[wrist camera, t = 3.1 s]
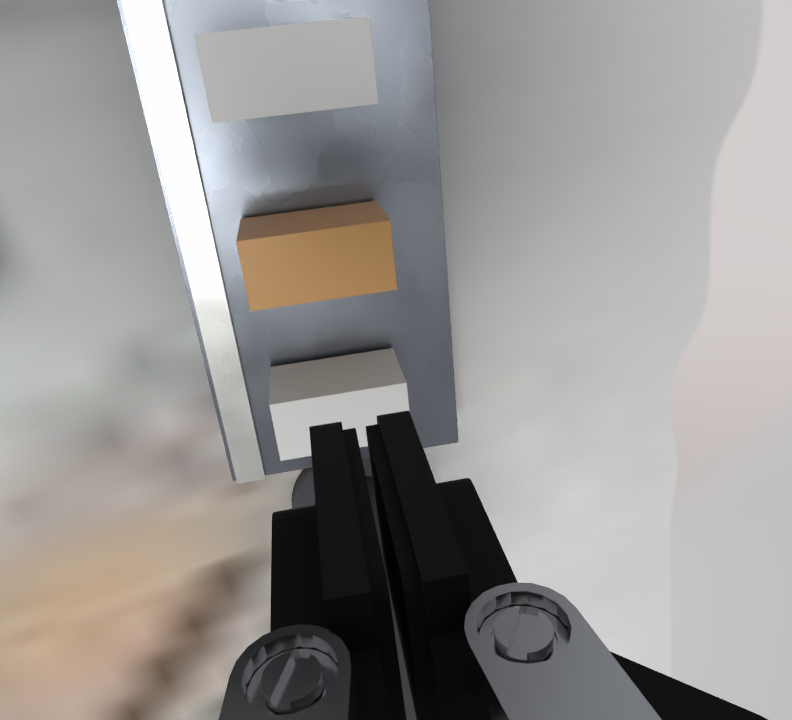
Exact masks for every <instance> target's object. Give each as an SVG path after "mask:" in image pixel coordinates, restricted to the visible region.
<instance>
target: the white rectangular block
mask: <svg viewBox="0 0 792 720" xmlns="http://www.w3.org/2000/svg"><path fill="white" fill-rule="evenodd" d="M269 406H270V411H271V416H272V421H273V426H274V431H275V436H276V441H277V446H278V451H279V456H280V461H284V460H290V459H295V458H301V457H307V456H312V455H311V443H310V431H309V427H311V426H317V425H323V424H329V423H335V422H342V428H343V430H345V429H351V428H356V432H357V437H358V442H359V447H366V446H368V442H367V435H366V426H369V425H375V424H377V416H378V415H384V414H390V413H396V412H402V411H409V401H408V391H407V382H406V380H405V377H404V375H403V372H402V370H401V367H400V365H399V362H398V359H397V357H396V354H395V352H394V349H393V348H389V349H383V350H377V351H370V352H364V353H357V354H351V355H344V356H338V357H332V358H325V359H319V360H312V361H306V362H300V363H293V364H287V365H280V366H274V367H270V387H269ZM409 412H410V411H409Z"/></svg>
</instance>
